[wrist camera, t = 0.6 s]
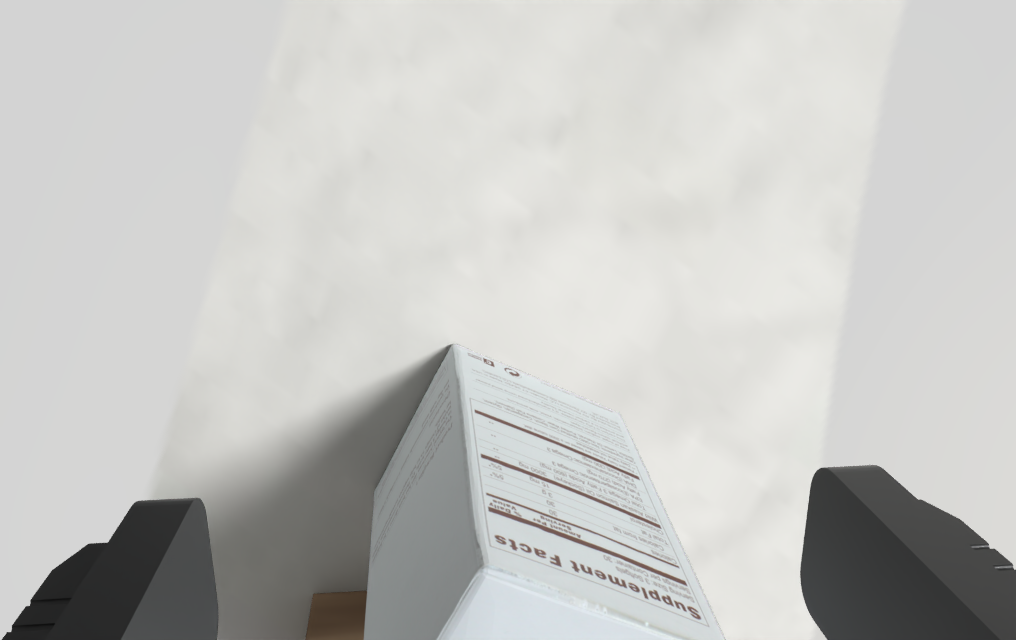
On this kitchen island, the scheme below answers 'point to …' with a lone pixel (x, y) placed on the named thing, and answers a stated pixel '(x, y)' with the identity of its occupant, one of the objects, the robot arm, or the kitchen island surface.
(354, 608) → the walnut cube
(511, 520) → the supplement box
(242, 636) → the kitchen island surface
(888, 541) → the robot arm
